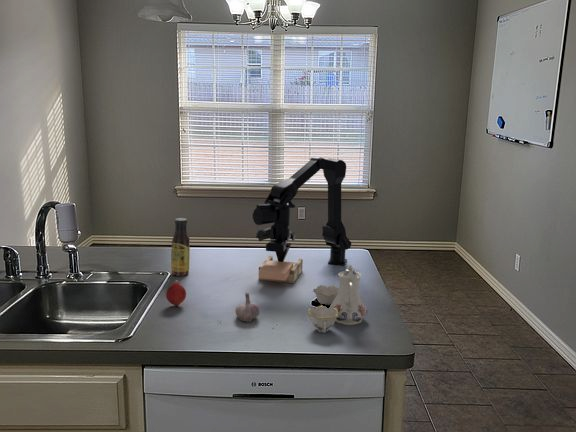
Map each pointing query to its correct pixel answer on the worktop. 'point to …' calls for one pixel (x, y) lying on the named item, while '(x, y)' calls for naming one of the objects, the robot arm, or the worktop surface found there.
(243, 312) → the garlic bulb
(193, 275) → the worktop surface
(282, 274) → the cover plate
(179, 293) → the onion
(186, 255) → the sauce bottle
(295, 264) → the birch box
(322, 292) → the chinaware
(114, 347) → the worktop surface
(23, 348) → the worktop surface
